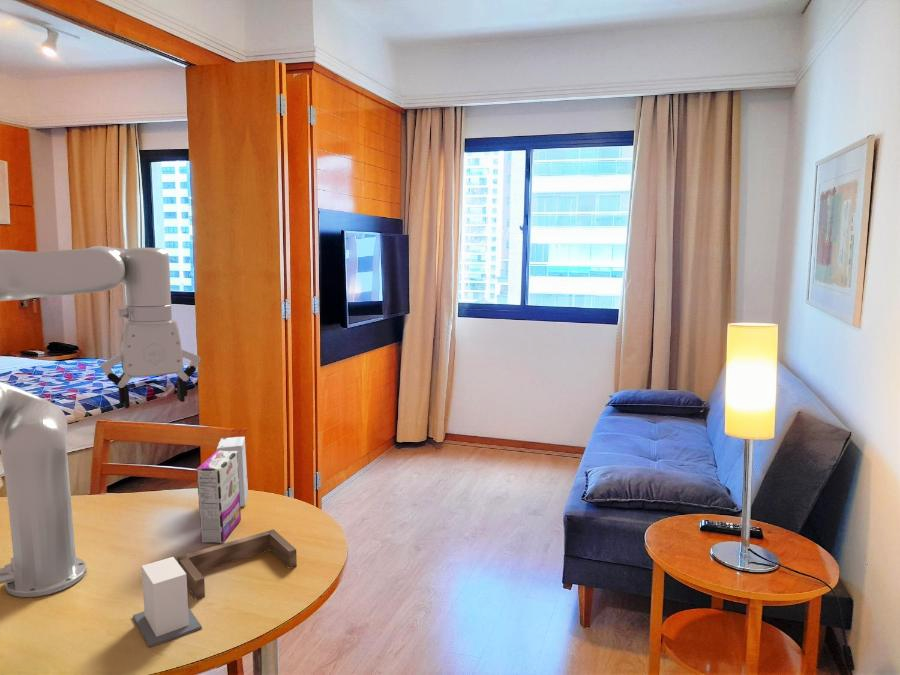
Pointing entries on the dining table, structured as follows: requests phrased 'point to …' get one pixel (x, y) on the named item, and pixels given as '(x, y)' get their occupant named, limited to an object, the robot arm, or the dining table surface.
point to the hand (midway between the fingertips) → (154, 403)
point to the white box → (165, 596)
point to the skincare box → (239, 446)
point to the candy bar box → (219, 496)
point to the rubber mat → (154, 640)
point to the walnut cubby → (233, 556)
